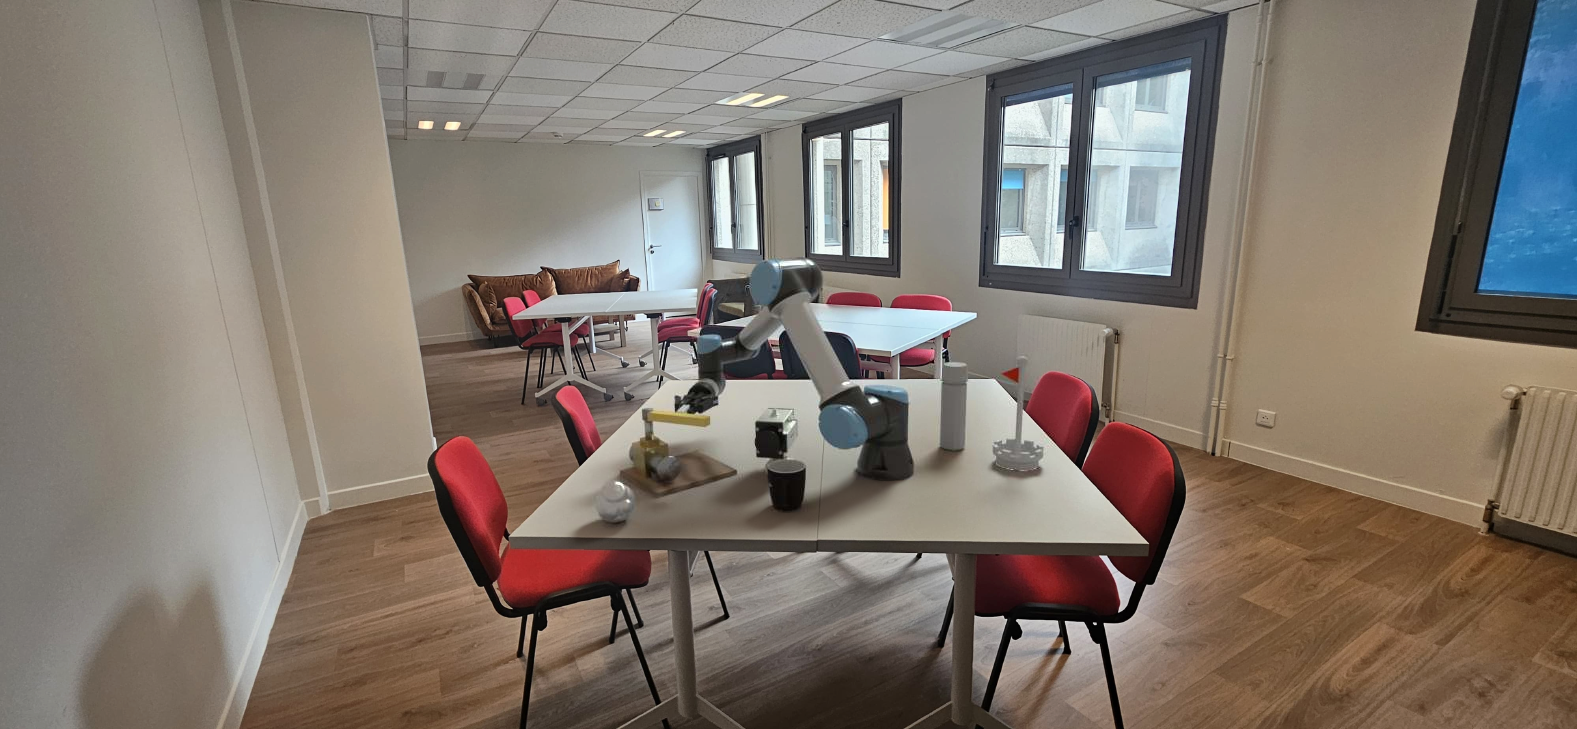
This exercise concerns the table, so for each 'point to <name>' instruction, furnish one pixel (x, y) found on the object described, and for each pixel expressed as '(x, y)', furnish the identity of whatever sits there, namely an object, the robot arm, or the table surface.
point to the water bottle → (953, 406)
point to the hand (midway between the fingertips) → (680, 416)
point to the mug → (787, 484)
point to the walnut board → (683, 474)
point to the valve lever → (675, 417)
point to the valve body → (653, 457)
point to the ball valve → (775, 434)
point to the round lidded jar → (615, 502)
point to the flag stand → (1018, 432)
